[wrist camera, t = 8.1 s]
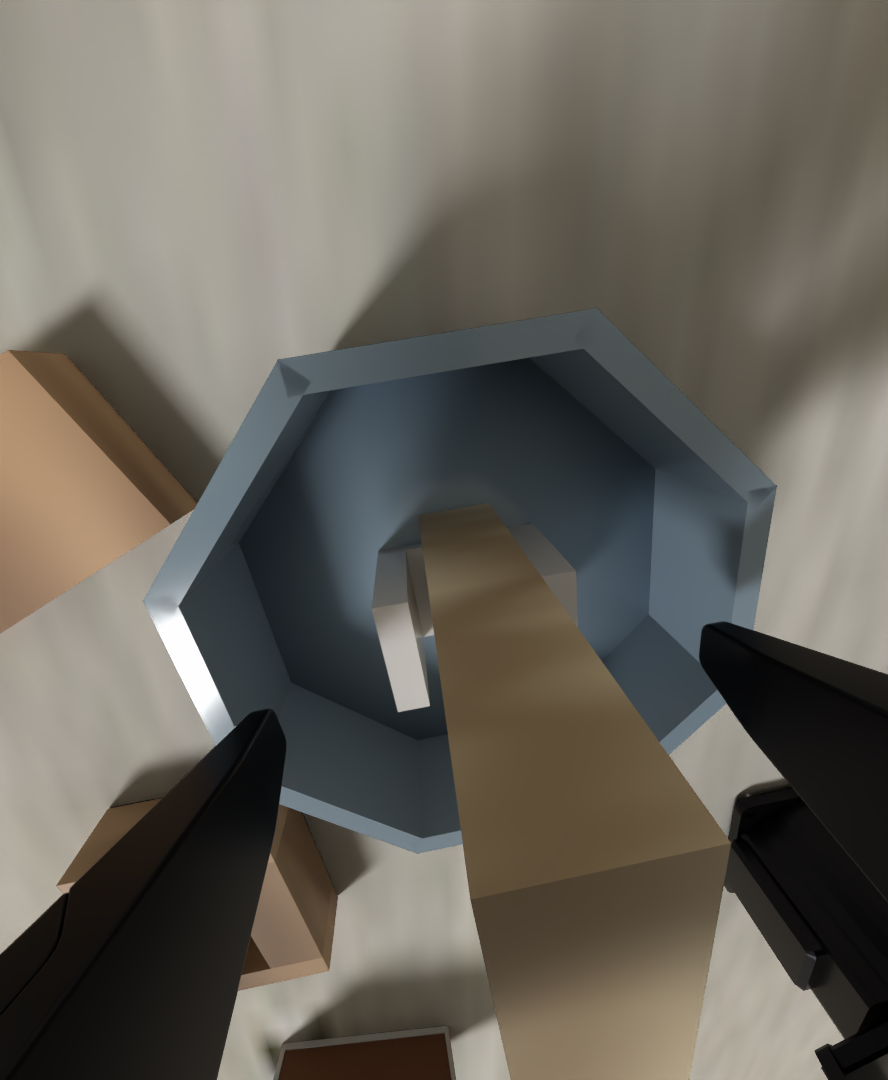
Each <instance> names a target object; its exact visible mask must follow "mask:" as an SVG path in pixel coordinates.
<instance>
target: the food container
mask: <svg viewBox="0 0 888 1080" xmlns="http://www.w3.org/2000/svg"><path fill="white" fill-rule="evenodd" d="M273 1080H456V1076H455V1069H454V1062H453V1055H452V1049H451V1042H450V1035H449V1028H448V1026H440V1027H431V1028H422V1029H413V1030H403V1031H394V1032H385V1033H375V1034H366V1035H357V1036H348V1037H338V1038H329V1039H320V1040H311V1041H301V1042H292V1043H283V1044H282V1047H281V1051H280V1055H279V1059H278V1063H277V1067H276V1071H275V1075H274V1079H273Z"/></svg>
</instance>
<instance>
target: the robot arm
mask: <svg viewBox="0 0 888 1080" xmlns="http://www.w3.org/2000/svg"><path fill="white" fill-rule="evenodd" d="M699 661H700V664H701V666H702V668H703V670H704V671H705V672H706V674H707V675H708V677H709V678H710V680H711V681H712V683H713V684H714V686H715V687H716V688H717V690H718V691H719V693H720V694H721V696H722V697H723V699H724V700H725V701H726V703H727V704H728V706H729V707H730V709H731V710H732V712H733V713H734V715H735V716H736V717H737V719H738V720H739V722H740V723H741V725H742V726H743V727H744V729H745V730H746V731H747V733H748V734H749V735H750V737H751V738H752V739H753V740H754V742H755V743H756V744H757V745H758V747H759V748H760V749H761V750H762V751H763V753H764V754H765V755H766V756H767V757H768V759H769V760H770V761H771V762H772V764H773V765H774V766H775V767H776V768H777V770H778V771H779V772H780V773H781V774H782V776H783V777H784V778H785V779H786V780H787V782H788V783H789V784H790V785H791V786H792V788H791V789H787V790H782V791H777V792H772V793H768V794H763V795H758V796H753V797H749V798H745V799H742V800H740V801H739V802H737V804H736V805H735V807H734V811H733V817H732V822H731V828H730V834H729V841H730V842H731V846H730V852H729V858H728V863H727V869H726V875H725V880H724V886H725V888H726V889H727V891H728V892H730V893H735V894H736V895H737V897H738V898H739V900H740V901H741V903H742V904H743V906H744V907H745V909H746V910H747V912H748V914H749V915H750V917H751V918H752V920H753V921H754V923H755V924H756V926H757V927H758V929H759V930H760V932H761V934H762V935H763V937H764V938H765V940H766V941H767V943H768V944H769V946H770V947H771V949H772V950H773V952H774V953H775V955H776V957H777V958H778V960H779V961H780V963H781V964H782V966H783V967H784V969H785V970H786V972H787V973H788V975H789V977H790V978H791V980H792V981H793V983H794V984H795V985H797V986H798V987H799V988H801V989H802V990H803V991H804V990H808V989H811V990H812V991H813V993H814V994H815V996H816V997H817V999H818V1000H819V1002H820V1003H821V1005H822V1006H823V1008H824V1009H825V1011H826V1012H827V1014H828V1015H829V1017H830V1018H831V1020H832V1021H833V1023H834V1024H835V1026H836V1027H837V1029H838V1030H839V1032H840V1033H841V1035H842V1036H843V1038H844V1039H845V1040H843V1041H841V1042H839V1043H837V1044H835V1045H833V1046H832V1045H830V1044H826V1045H824V1046H822V1047H820V1048H818V1049H816V1050H815V1053H816V1055H817V1057H818V1059H819V1061H820V1063H821V1065H822V1067H821V1069H822V1070H823V1072H824V1073H825V1075H826V1077H827V1078H828V1080H888V674H885V673H882V672H879V671H875V670H872V669H869V668H866V667H863V666H860V665H857V664H854V663H851V662H848V661H845V660H842V659H839V658H836V657H833V656H830V655H827V654H824V653H821V652H818V651H815V650H811V649H808V648H805V647H802V646H799V645H796V644H793V643H790V642H787V641H784V640H781V639H778V638H775V637H772V636H769V635H766V634H763V633H760V632H757V631H754V630H751V629H747V628H744V627H741V626H738V625H735V624H732V623H729V622H726V621H720V622H715V623H710V624H706V625H704V626H703V628H702V631H701V639H700V649H699ZM286 749H287V744H286V738H285V735H284V732H283V730H282V727H281V725H280V723H279V720H278V718H277V715H276V713H275V711H274V710H273V709H270V708H268V709H263V710H257V711H253V712H251V713H249V714H248V715H247V716H246V717H245V718H244V719H243V720H242V721H241V722H240V723H239V724H238V725H237V726H236V727H235V728H234V729H233V730H232V731H231V732H230V733H229V734H228V735H226V736H225V737H224V738H223V739H222V740H221V741H220V742H219V743H218V744H217V745H216V746H215V747H214V748H213V749H212V750H211V751H210V752H209V753H208V754H207V755H206V756H205V757H204V758H203V759H202V760H201V761H200V762H199V763H198V764H197V765H196V766H195V767H194V768H193V769H192V770H190V771H189V772H188V773H187V774H186V775H185V776H184V777H183V778H182V779H181V780H180V781H179V782H178V783H177V784H176V785H175V786H174V787H173V788H172V789H171V790H170V791H169V792H168V793H167V794H166V795H165V796H164V797H163V798H162V799H161V800H160V801H159V802H158V803H157V804H156V805H154V806H153V807H152V808H151V809H150V810H149V811H148V812H147V813H146V814H145V815H144V816H143V817H142V818H141V819H140V820H139V821H138V822H137V823H136V824H135V825H134V826H133V827H132V828H131V829H130V830H129V831H128V832H127V833H126V834H125V835H124V836H123V837H122V838H121V839H120V840H118V841H117V842H116V843H115V844H114V845H113V846H112V847H111V848H110V849H109V850H108V851H107V852H106V853H105V854H104V855H103V856H102V857H101V858H100V859H99V860H98V861H97V862H96V863H95V864H94V865H93V866H92V867H91V868H90V869H89V870H88V871H87V872H86V873H85V874H83V875H82V876H81V877H80V878H79V879H78V880H77V881H76V882H75V883H74V884H73V885H72V886H71V887H70V889H69V893H64V894H63V895H62V896H61V897H60V898H59V899H58V900H57V901H56V902H55V903H54V904H52V905H51V906H50V907H49V908H48V909H47V910H46V911H45V912H44V913H43V914H42V915H41V916H40V917H39V918H38V919H37V920H36V921H35V922H34V923H33V924H32V925H31V926H30V927H29V928H28V929H27V930H25V931H24V932H23V933H22V934H21V935H20V936H19V937H18V938H17V939H16V940H15V941H14V942H13V943H12V944H11V945H10V946H9V947H8V948H7V949H5V950H4V951H3V952H2V953H1V954H0V1080H217V1076H218V1072H219V1068H220V1064H221V1059H222V1055H223V1051H224V1047H225V1043H226V1038H227V1034H228V1030H229V1026H230V1021H231V1017H232V1013H233V1009H234V1005H235V1000H236V996H237V992H238V988H239V983H240V979H241V975H242V971H243V966H244V962H245V958H246V954H247V950H248V945H249V941H250V937H251V933H252V928H253V924H254V920H255V916H256V912H257V907H258V903H259V899H260V895H261V890H262V886H263V882H264V878H265V873H266V869H267V865H268V861H269V857H270V852H271V848H272V844H273V839H274V834H275V830H276V823H277V817H278V810H279V802H280V795H281V787H282V780H283V772H284V764H285V757H286Z"/></svg>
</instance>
